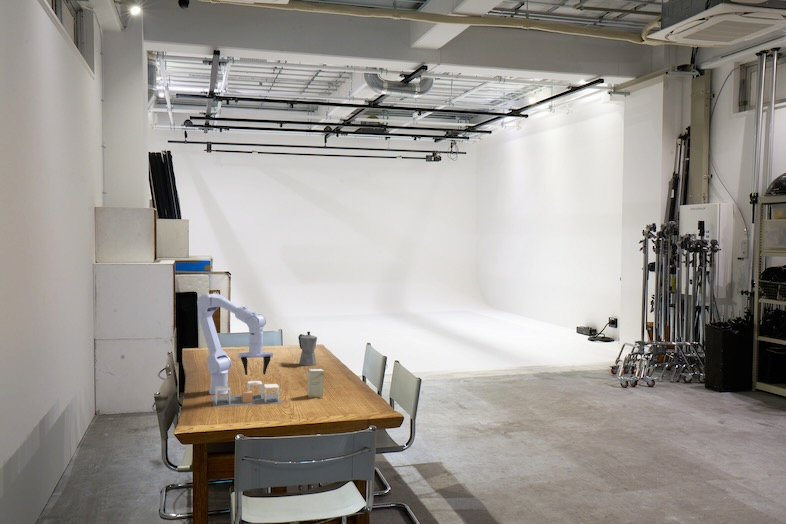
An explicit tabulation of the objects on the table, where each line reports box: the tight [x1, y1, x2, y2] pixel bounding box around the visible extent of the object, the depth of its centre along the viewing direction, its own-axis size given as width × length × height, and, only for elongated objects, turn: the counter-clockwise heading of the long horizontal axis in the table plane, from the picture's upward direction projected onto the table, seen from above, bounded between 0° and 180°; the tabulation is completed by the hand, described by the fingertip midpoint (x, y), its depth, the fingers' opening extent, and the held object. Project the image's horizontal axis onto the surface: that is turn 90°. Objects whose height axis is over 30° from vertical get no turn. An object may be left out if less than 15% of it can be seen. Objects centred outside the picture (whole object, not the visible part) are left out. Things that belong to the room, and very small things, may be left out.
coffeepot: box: [298, 331, 318, 367], centre depth 362 cm, size 15×9×18 cm, turn 44°
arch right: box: [263, 383, 280, 402], centre depth 280 cm, size 6×6×6 cm
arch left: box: [214, 385, 231, 405], centre depth 274 cm, size 6×6×6 cm
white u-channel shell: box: [246, 380, 264, 398], centre depth 285 cm, size 6×6×6 cm
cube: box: [241, 390, 254, 403], centre depth 277 cm, size 4×4×4 cm
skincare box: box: [307, 368, 325, 398], centre depth 291 cm, size 6×4×12 cm
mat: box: [210, 393, 283, 408], centre depth 280 cm, size 17×28×1 cm, turn 109°
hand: (255, 374), depth 285 cm, fingers open, 7 cm apart
